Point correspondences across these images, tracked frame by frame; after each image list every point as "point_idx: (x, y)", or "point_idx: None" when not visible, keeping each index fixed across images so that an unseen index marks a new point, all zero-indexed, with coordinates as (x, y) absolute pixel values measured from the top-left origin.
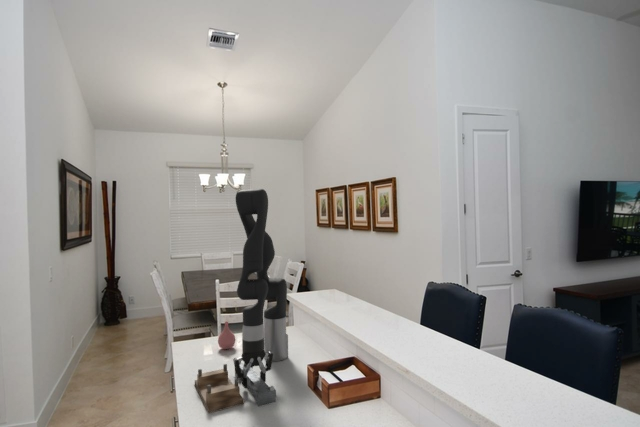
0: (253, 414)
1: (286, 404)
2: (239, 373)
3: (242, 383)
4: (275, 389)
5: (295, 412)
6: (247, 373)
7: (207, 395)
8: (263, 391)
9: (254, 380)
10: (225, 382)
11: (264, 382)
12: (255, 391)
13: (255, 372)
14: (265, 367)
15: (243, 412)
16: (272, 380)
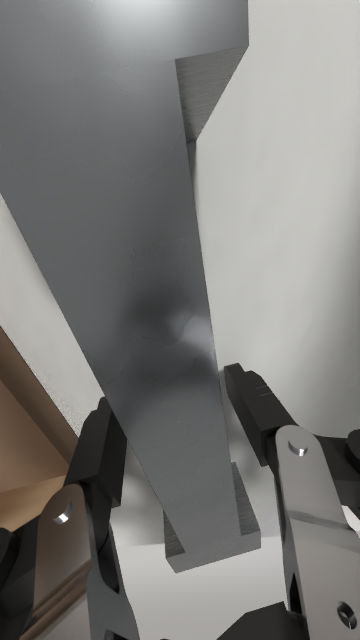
0: (148, 526)
1: (262, 491)
2: (17, 621)
3: (89, 431)
4: (259, 547)
5: (266, 516)
6: (126, 390)
7: None
8: (203, 560)
9: (178, 494)
10: None
11: (234, 510)
12: (167, 556)
13: (216, 382)
14: (340, 496)
15: (115, 521)
16: (306, 310)
